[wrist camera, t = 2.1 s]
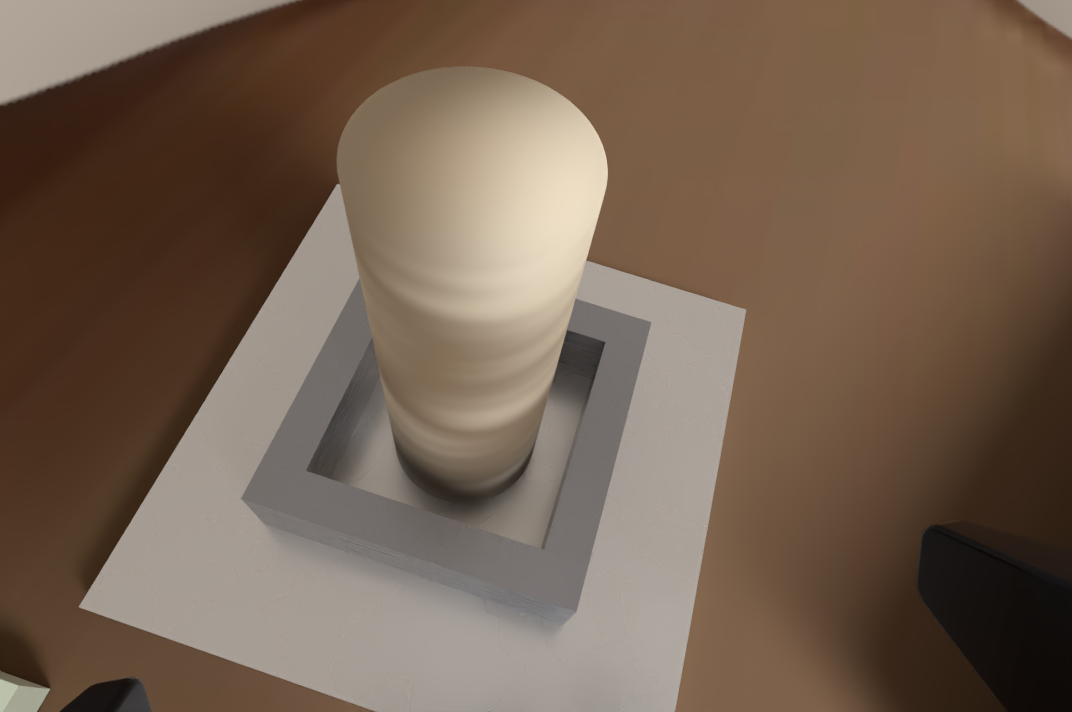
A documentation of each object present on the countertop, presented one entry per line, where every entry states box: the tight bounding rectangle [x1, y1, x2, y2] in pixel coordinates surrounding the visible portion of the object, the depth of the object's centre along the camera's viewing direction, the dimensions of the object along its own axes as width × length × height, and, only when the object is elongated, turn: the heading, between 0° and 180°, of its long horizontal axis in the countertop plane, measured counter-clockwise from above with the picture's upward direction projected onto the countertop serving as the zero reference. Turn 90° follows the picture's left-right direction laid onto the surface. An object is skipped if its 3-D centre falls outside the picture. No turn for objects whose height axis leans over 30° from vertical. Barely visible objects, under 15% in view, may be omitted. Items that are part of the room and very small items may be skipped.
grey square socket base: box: [79, 184, 746, 712], centre depth 21 cm, size 16×16×4 cm
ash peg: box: [337, 66, 608, 503], centre depth 16 cm, size 4×4×12 cm
